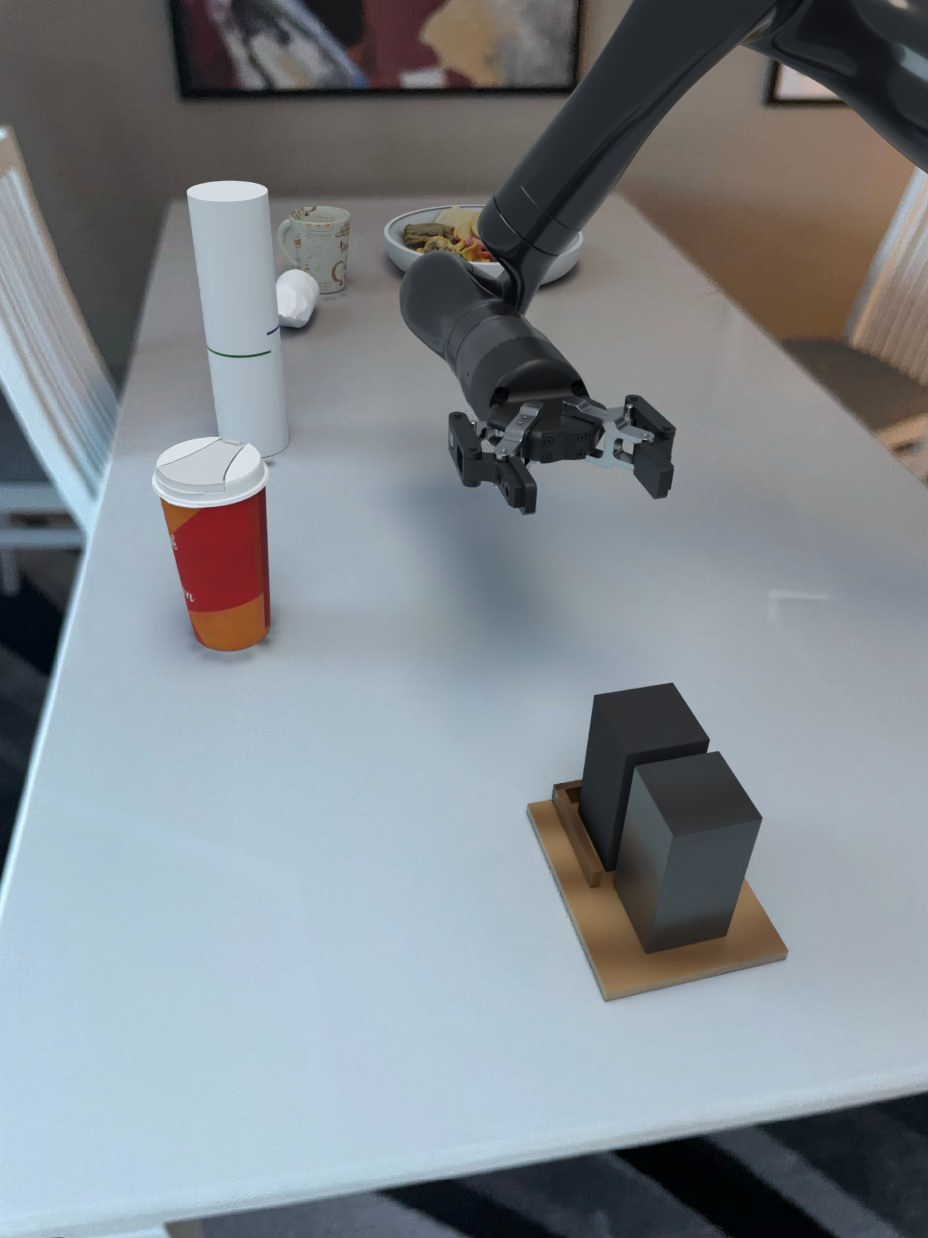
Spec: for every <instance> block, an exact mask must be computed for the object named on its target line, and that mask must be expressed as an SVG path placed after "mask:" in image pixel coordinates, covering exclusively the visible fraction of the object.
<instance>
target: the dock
mask: <svg viewBox="0 0 928 1238" xmlns="http://www.w3.org/2000/svg"><path fill="white" fill-rule="evenodd" d="M581 784H582V778H580V779H576V780H570V781H565V782H559V783H553V785H552V790H551V793H552V794H551V799H545V800H540V801H534V802H530V803H527V805H526V814H527V816H528V818H529V821H530V823H531V826H532V828H533V831H534V833H535V835H536V836H535V837H536V838H537V840H538V842H539V845H540V848H541V850H542V853H543V854H544V857H545V860H546V862H547V865H548V867H549V870H550V871H551V874H552V876H553V879H554V882H555V883H556V887H557V888H558V891H559V893H560V896H561V898H562V901H563V903H564V906H565V909H566V911H567V913H568V915H569V918H570V920H571V922H572V924H573V927H574V929H575V932H576V934H577V937H578V939H579V942H580V943H581V946H582V949H583V951H584V954H585V956H586V958H587V961H588V963H589V965H590V966H589V967H590V969H591V970H592V973H593V975H594V978H595V981H596V982H597V986H598V988H599V990H600V992H601V995H602V997H603V1000H604V1001H605V1002H610V1001H612V1000H617V999H621V998H625V997H630V996H634V995H638V994H642V993H646V992H650V991H651V992H652V991H656V990H659V989H663V988H668V987H672V986H676V985H682V984H685V983H689V982H693V981H698V980H702V979H706V978H711V977H714V976H715V977H716V976H718V975H723V974H728V973H732V972H737V971H739V970H740V971H741V970H745V969H749V968H753V967H757V966H761V965H765V964H770V963H774V962H779V961H782V960H783V961H784V960H786V959H787V957H788V954H789V953H790V952H789V951H790V950H789V948H788V947H787V945H786V943H785V942H784V940H783V939H782V937H781V935H780V933H779V932H778V930H777V929H776V927H775V925H774V923H773V922H772V920H771V919H770V917H769V915H768V914H767V912H766V910H765V909H764V907H763V905H762V904H761V902H760V901H759V899H758V897H757V895H756V893H755V892H754V890H753V889H752V887H751V886H750V884H749V882H748V881H747V879H746V874H747V871H748V868H749V865H750V861H751V859H752V855H753V852H754V849H755V845H756V842H757V839H758V836H759V832H760V829H761V826H762V822H763V815H762V814H761V812H760V811H759V810H758V808H757V806H756V805H755V803H754V802H753V800H752V799H751V797H750V795H749V794H748V793H747V791H746V790H745V788H744V787H743V785H742V784H741V782H740V780H739V779H738V778H737V776H736V774H735V773H734V772H733V770H732V768H731V766H729V764H728V763H727V761H726V759H725V758H724V756H723V755H722V753H721V751H719V750H716V751H710V752H707V753H704V754H698V755H693V756H687V757H682V758H676V759H671V760H665V761H659V762H654V763H648V764H643V765H637V766H635V768H634V774H633V779H632V785H631V790H630V795H629V801H628V806H627V812H626V817H625V822H624V828H623V833H622V839H621V844H620V849H619V855H618V860H617V866H616V870H615V871H610V872H606V871H605V869H604V867H603V865H602V863H601V861H600V859H599V856H598V854H597V852H596V850H595V848H594V846H593V844H592V841H591V839H590V837H589V835H588V833H587V831H586V828H585V826H584V824H583V822H582V820H581V818H580V816H579V813H578V806H579V798H580V791H581Z"/></svg>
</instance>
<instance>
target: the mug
mask: <svg viewBox="0 0 928 1238" xmlns="http://www.w3.org/2000/svg"><path fill="white" fill-rule="evenodd" d="M288 216H289V217H288V218H287V219H284V220H283V221H281V223H280V224H279V226H278V229H277V233H276V241H277V247H278V250H279V252H280V254H281V256H282V257H283V258H284V259H285V260H286V262H287V263H288V264H289V265H290V266H292V267H294V268H295V269H298V270H301V271H303V272H306V273H307V274H309V275H310V276H311V277H313V278H314V279H315V281H316V282H317V284H318V286H319V294H321V295H323V294H334V293H339V292H341V291H342V290H344V289H345V287H346V281H347V280H346V279H347V270H348V269H347V267H348V255H349V254H348V253H349V242H350V231H351V229H350V228H351V213H350V212H349V211H348V210H346V209H344V208H340V207H336V206H325V205H323V206H322V205H315V206H306V207H300V208H296V209H294V210H292V211H290V213H289V215H288ZM290 229H291V235H292V239H293V244H294V250H295V254H296V259H297V260H295V259H294V258H293V257H292V256H291V254H290V253H289V250H288V249H287V247H286V241H285V240H286V239H285V238H286V234H287V232H288V231H289V230H290Z"/></svg>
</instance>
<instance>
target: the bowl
mask: <svg viewBox="0 0 928 1238" xmlns="http://www.w3.org/2000/svg"><path fill="white" fill-rule="evenodd" d="M485 206H486V204H451V205H440V206H431V207H426V208H421V209H417V210H411V211H409V212H406V213H402V214H399V215H398V216H396V217H394V218H392V219H391V220H390V221H389V222H387V224H386V225H385V226H384V229H383V242H384V247H385V250H386V252H387V255H388V256H389V258H390V259H391V261H392V262H393V263H394V264H395V265H396V266H397V268H399V269H400V270H401V271H403V272H405V273H406V271H407V269H408V268H409V267H410V265H411V264H412V263H413V262H414V261H415V260H416V259H417V258H419V257H420V256H422V255H424V254H426V253H428V252H431V251H436V250H445V251H449V252H452V253H454V254H456V255H458V256H460V257H461V258H463V259H465V260H466V261H468V262H469V263H471V264H473V265H474V266H476V267H478V268H479V269H481V270H482V271H484V272H486V273H487V274H489V275H491V276H492V277H494V278H497V277H498V276H499V275H500V274H501V273H502V272H503V270H504V268H503V267H502V266H501V265H500V264H499V263H498V262H497V260H496V259H495V258H494V257H493V256H492V255H491V254H490V253H489V251H488V250H487V249H486V248H485V246H484V245H483V243H482V242H481V240H480V237H479V235H478V231H477V222H478V218H479V216H480V214H481V212H482V210H483V209H484V207H485ZM584 239H585V238H584V234H583V232H582V230H581V231H580V232H579V233H578V234H577V235H576V237H575V238H574V239H573V240H572V241H571V243H570V244H569V245H568V246H567V247H566V248H565V250H564V251H563V252H562V253H561V254H560V255H559V257H558V258H557V259H556V260H555V261H554V262H553V264H552V265H551V267H550V268H549V270H548V272H547V273H546V275H545V277H544V279H543V281H542V283H541V284H540V286H542V285H546V284H549V283H551V282H553V281H556V280H558V279H559V278H562V277H563V276H565V275H566V274H568V272H570V271H571V270H572V269H573V268H574V267H575V265H576V264H577V262H578V261H579V260H580V257H581V255H582V252H583V248H584Z"/></svg>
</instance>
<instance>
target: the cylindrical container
mask: <svg viewBox="0 0 928 1238" xmlns="http://www.w3.org/2000/svg"><path fill="white" fill-rule="evenodd" d="M186 196H187V197H186V198H187V203H188V211H189V213H188V214H189V219H190V228H191V236H192V242H193V243H192V244H193V249H194V250H193V251H194V258H195V266H196V272H197V273H196V274H197V280H198V289H199V296H200V297H199V298H200V304H201V311H202V319H203V327H204V334H205V340H206V341H205V342H206V349H207V357H208V364H209V371H210V379H211V388H212V394H213V402H214V408H215V409H214V410H215V416H216V417H215V418H216V424H217V430H218V437H221V438H222V440H223V441H225V440H226V439H230V440H234V441H239V442H242V444H241V445H247V444H248V443H249V444H251V445H252V446H254V447H255V448H256V449H257V450H258V452H259V453H260V455H261V457H262V458H267V457H271V456H274V455H276V454H279V453H281V452H282V451H285V449H286V448H287V447H288V446H289V444H290V434H289V422H288V421H289V420H288V411H287V400H286V399H287V398H286V388H285V387H286V386H285V377H284V363H283V353H282V341H281V340H282V339H281V328H280V325H279V316H278V304H277V293H276V282H277V280H276V271H275V270H276V269H275V261H274V260H275V259H274V247H273V236H272V223H271V213H270V202H269V201H270V200H269V189H268V188H267V187H266V186H265V185H263V184H259V183H256V182H251V181H243V180H217V181H208V182H203V183H199V184H196V185H192V186H191V187H189V188H188V189H187V190H186Z"/></svg>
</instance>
